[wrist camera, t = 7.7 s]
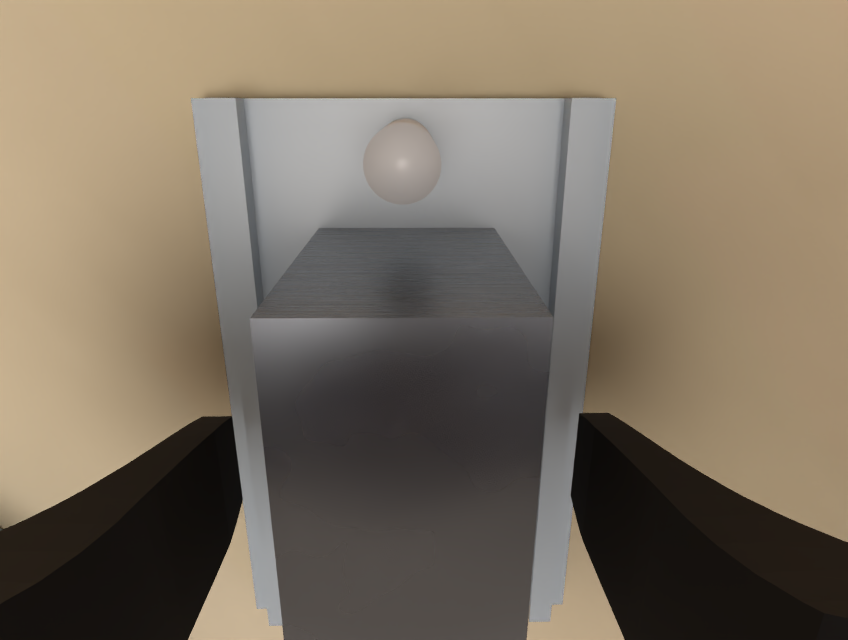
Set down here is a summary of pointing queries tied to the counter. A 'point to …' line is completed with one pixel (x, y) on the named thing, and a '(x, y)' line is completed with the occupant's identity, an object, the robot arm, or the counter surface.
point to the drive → (403, 434)
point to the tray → (409, 208)
